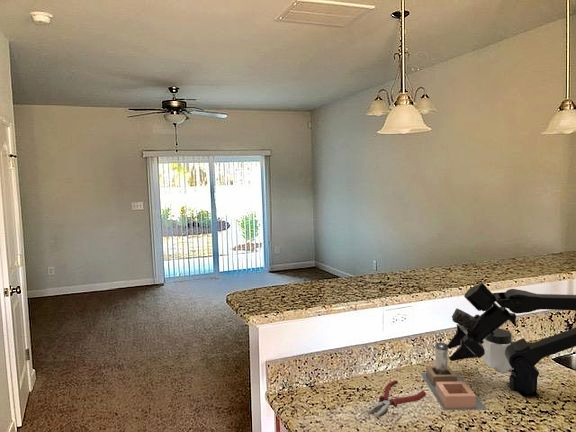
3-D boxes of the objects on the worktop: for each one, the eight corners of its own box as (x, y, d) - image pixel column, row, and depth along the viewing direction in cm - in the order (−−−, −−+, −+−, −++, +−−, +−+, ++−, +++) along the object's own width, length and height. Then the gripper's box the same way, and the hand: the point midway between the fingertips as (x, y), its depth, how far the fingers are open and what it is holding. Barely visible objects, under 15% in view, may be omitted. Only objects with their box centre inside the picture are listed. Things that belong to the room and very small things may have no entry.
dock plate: (457, 375, 142) (457, 363, 142) (487, 413, 120) (487, 399, 120) (420, 376, 142) (420, 364, 142) (443, 413, 121) (443, 399, 120)
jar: (478, 361, 152) (479, 327, 151) (501, 360, 153) (502, 326, 152) (492, 373, 143) (493, 337, 142) (516, 371, 144) (517, 336, 143)
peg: (444, 377, 139) (445, 342, 138) (448, 382, 135) (449, 347, 134) (433, 377, 139) (433, 342, 138) (437, 383, 136) (437, 347, 134)
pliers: (354, 411, 124) (354, 402, 123) (394, 385, 138) (394, 377, 137) (389, 427, 115) (390, 418, 115) (428, 399, 129) (428, 390, 129)
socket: (464, 392, 129) (464, 381, 129) (476, 408, 121) (476, 396, 121) (435, 393, 130) (435, 381, 129) (445, 408, 121) (445, 396, 121)
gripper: (465, 293, 141) (429, 323, 146) (473, 311, 124) (431, 345, 128) (491, 319, 140) (453, 349, 144) (503, 341, 122) (459, 374, 126)
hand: (449, 353), depth 136 cm, fingers open, 9 cm apart
